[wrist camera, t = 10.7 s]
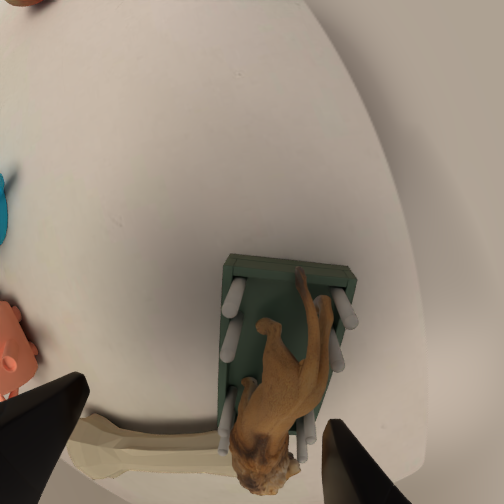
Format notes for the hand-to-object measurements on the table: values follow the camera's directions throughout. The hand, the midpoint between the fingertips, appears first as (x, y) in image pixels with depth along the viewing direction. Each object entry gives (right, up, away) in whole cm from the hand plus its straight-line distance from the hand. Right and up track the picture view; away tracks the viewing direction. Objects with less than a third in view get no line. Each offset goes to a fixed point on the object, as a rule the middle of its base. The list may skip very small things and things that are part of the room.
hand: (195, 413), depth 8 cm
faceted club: (-7, -14, +17) cm, 24 cm away
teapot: (-26, -5, +16) cm, 31 cm away
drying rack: (+4, -2, +12) cm, 13 cm away
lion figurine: (+4, -2, +11) cm, 12 cm away
